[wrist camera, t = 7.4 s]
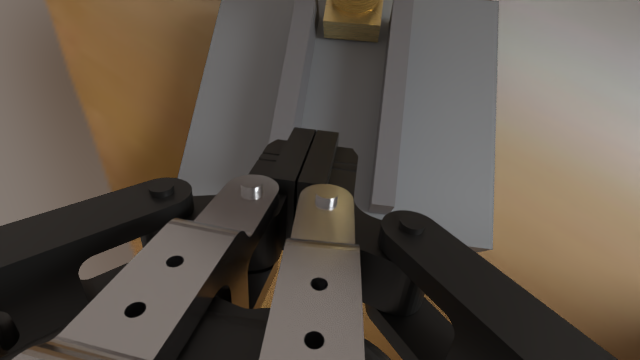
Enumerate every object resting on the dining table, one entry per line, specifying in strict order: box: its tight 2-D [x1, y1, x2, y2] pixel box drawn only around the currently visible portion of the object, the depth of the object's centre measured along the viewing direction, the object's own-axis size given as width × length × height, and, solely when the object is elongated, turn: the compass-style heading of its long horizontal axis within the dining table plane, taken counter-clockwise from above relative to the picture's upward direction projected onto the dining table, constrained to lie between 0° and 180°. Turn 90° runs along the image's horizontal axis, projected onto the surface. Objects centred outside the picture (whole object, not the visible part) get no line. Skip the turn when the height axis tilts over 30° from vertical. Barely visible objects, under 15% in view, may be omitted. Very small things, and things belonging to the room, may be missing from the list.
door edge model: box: [178, 0, 499, 252], centre depth 21 cm, size 25×16×7 cm, turn 172°
